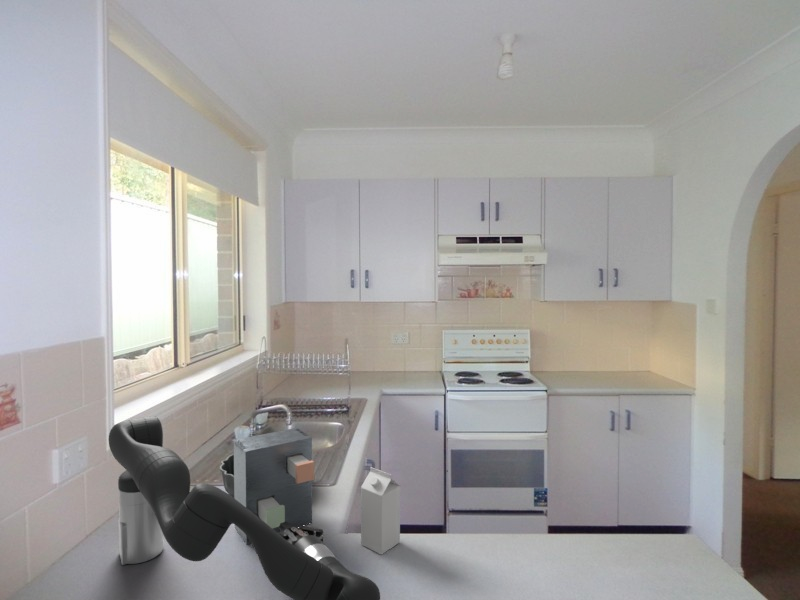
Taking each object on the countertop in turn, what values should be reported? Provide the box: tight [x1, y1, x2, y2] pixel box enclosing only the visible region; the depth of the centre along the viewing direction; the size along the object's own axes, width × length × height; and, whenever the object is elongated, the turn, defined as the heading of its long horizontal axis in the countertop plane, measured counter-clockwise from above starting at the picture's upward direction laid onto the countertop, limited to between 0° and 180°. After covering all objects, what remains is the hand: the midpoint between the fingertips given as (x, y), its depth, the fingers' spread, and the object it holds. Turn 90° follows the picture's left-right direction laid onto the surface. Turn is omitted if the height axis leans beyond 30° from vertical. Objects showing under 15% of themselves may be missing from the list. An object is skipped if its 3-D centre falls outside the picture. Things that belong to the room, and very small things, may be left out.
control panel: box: [233, 427, 313, 545], centre depth 128 cm, size 18×10×24 cm, turn 126°
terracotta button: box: [286, 454, 315, 484], centre depth 124 cm, size 5×9×5 cm, turn 36°
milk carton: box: [360, 466, 401, 555], centre depth 120 cm, size 7×7×19 cm
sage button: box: [257, 496, 285, 528], centre depth 120 cm, size 5×9×5 cm, turn 36°
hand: (282, 526), depth 112 cm, fingers closed
